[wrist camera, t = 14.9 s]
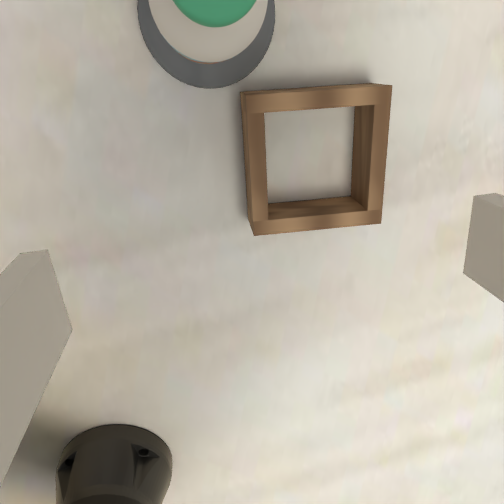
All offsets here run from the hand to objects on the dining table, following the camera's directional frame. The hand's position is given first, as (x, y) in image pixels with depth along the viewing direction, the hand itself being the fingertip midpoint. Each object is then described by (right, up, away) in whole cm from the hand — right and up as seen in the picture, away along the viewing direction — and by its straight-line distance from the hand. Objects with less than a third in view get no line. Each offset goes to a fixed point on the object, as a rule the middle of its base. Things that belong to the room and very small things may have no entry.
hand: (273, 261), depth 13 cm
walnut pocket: (+5, +11, +30) cm, 32 cm away
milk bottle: (-5, +21, +24) cm, 32 cm away
